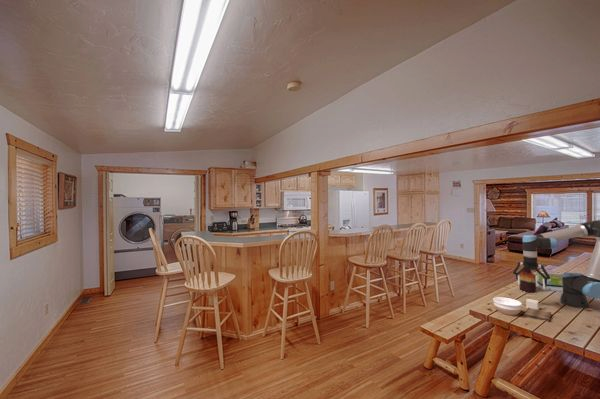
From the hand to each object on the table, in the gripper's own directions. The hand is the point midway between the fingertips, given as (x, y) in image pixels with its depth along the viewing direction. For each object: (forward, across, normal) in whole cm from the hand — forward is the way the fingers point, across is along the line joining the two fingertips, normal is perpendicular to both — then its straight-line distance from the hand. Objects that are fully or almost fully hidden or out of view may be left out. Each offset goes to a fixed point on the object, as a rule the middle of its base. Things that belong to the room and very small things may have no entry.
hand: (531, 286), depth 188 cm
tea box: (+16, -5, -63) cm, 65 cm away
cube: (+16, 0, 0) cm, 17 cm away
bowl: (+17, +11, +18) cm, 27 cm away
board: (+16, -4, +12) cm, 21 cm away
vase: (+16, +8, -45) cm, 49 cm away
